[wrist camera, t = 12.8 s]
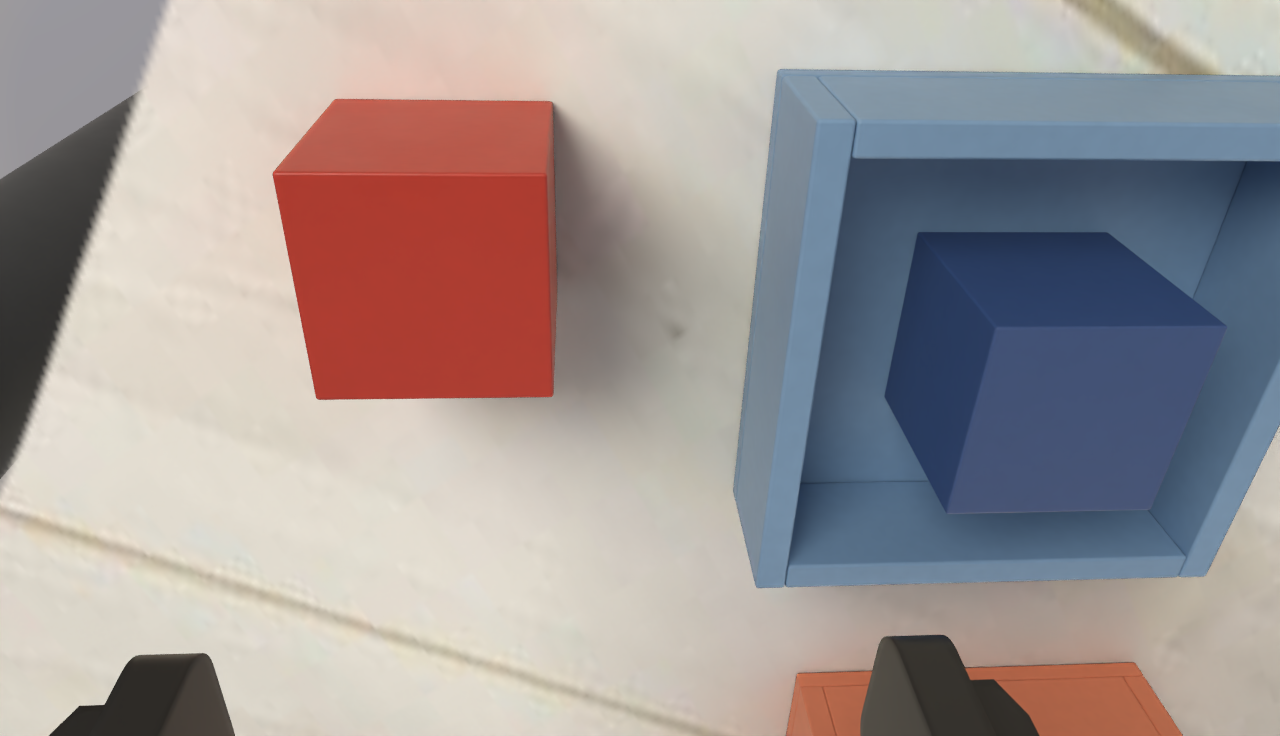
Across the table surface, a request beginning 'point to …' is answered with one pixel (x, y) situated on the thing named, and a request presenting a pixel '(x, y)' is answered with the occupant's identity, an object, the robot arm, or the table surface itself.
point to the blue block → (1045, 371)
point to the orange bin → (1051, 695)
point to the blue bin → (994, 202)
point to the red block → (425, 248)
